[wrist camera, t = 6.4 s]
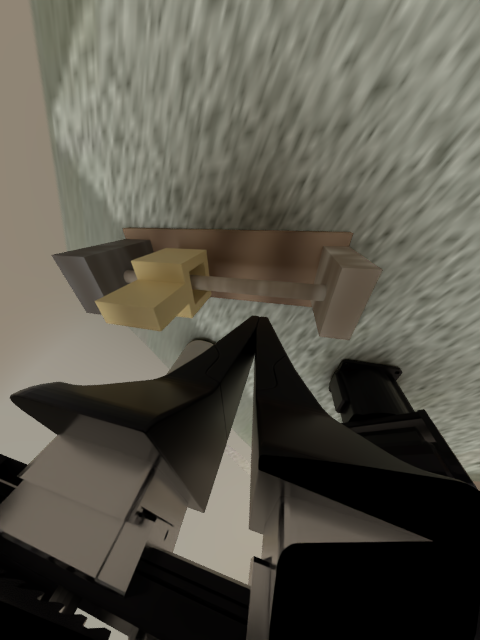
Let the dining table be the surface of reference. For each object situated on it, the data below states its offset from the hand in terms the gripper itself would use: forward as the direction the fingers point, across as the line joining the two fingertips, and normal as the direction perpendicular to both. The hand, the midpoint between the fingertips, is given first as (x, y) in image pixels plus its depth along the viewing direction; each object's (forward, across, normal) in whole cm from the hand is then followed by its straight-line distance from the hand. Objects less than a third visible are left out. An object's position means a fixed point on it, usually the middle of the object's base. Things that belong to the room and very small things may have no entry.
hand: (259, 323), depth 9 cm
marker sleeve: (+7, +8, 0) cm, 11 cm away
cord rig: (+10, +5, 0) cm, 11 cm away
